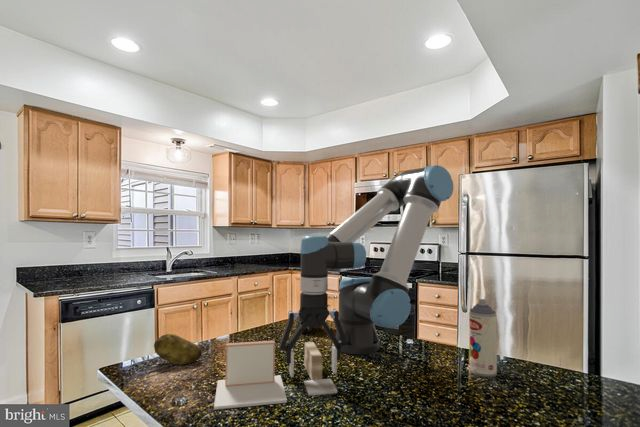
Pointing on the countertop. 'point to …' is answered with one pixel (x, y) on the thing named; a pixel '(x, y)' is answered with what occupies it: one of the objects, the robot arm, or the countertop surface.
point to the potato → (177, 349)
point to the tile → (250, 363)
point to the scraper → (316, 372)
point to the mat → (249, 394)
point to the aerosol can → (483, 340)
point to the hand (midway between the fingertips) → (313, 373)
